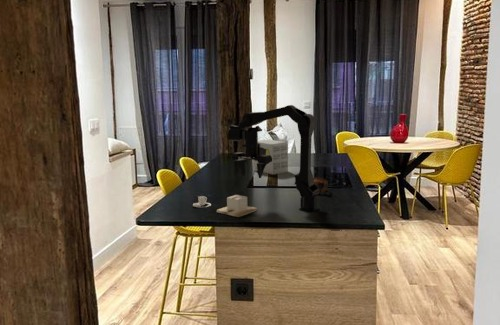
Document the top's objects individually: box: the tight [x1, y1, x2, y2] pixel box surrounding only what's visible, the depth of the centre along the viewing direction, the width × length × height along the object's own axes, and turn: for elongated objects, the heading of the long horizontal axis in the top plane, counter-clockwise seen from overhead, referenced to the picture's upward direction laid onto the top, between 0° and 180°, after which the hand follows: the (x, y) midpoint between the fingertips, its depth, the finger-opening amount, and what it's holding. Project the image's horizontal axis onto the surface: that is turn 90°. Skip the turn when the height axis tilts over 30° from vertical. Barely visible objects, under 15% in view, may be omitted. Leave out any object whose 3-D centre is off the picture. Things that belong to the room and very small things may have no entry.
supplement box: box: [253, 139, 289, 175], centre depth 278 cm, size 17×13×18 cm
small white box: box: [226, 194, 248, 211], centre depth 194 cm, size 6×6×5 cm
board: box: [216, 205, 258, 218], centre depth 194 cm, size 12×12×4 cm
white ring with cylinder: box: [192, 195, 212, 208], centre depth 205 cm, size 9×8×4 cm
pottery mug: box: [313, 177, 329, 195], centre depth 224 cm, size 12×10×8 cm
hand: (251, 176), depth 205 cm, fingers open, 9 cm apart
